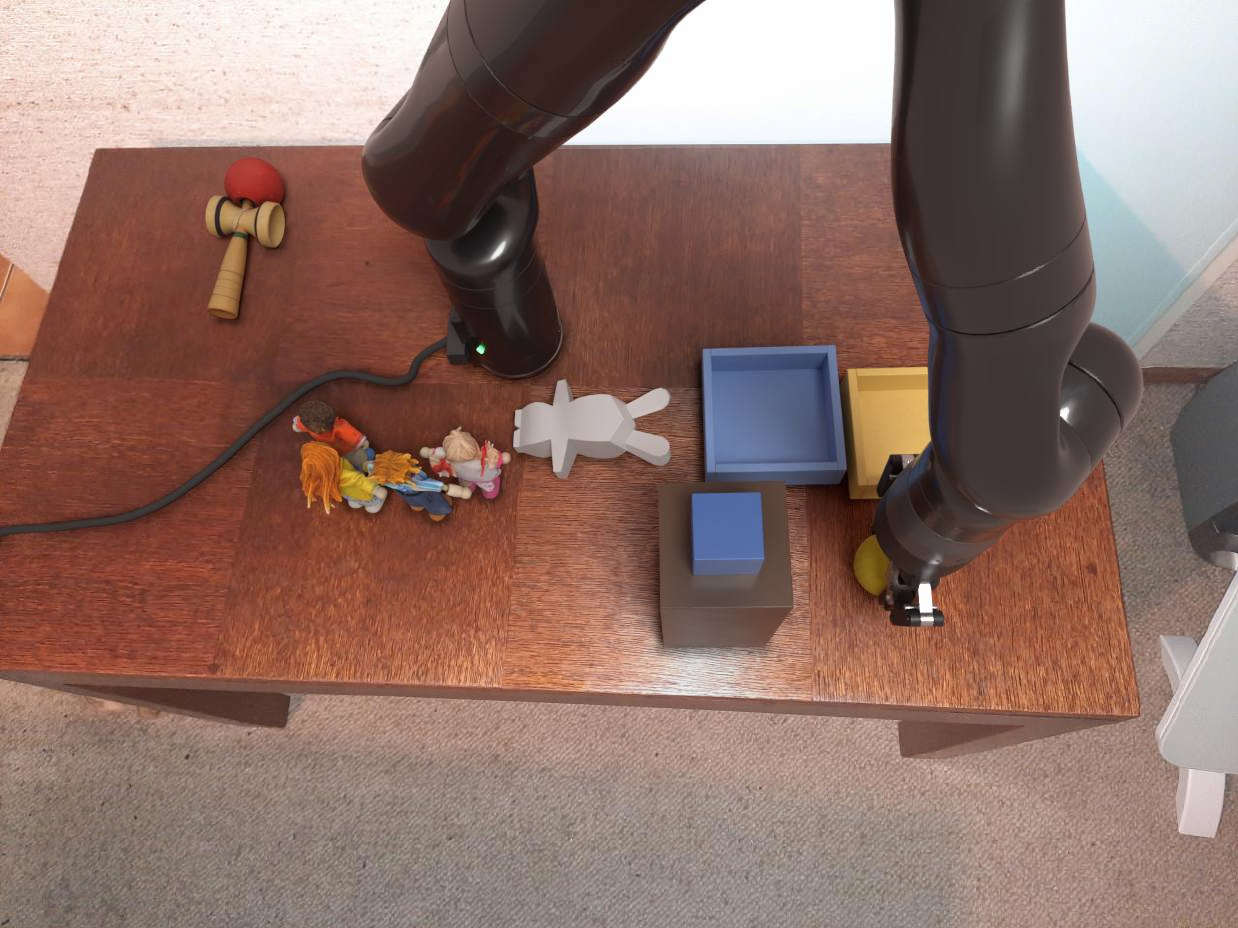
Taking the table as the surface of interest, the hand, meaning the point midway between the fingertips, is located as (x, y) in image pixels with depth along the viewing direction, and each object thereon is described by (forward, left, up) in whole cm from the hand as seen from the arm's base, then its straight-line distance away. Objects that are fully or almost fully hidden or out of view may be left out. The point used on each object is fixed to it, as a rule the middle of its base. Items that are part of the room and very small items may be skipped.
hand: (886, 565), depth 75 cm
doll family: (-44, +8, -4) cm, 45 cm away
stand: (-15, -2, -3) cm, 16 cm away
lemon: (0, 0, -4) cm, 4 cm away
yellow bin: (+4, +13, -3) cm, 14 cm away
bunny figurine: (-26, +14, -4) cm, 30 cm away
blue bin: (-9, +15, -3) cm, 18 cm away
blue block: (-15, -2, +17) cm, 22 cm away
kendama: (-64, +37, -4) cm, 74 cm away
